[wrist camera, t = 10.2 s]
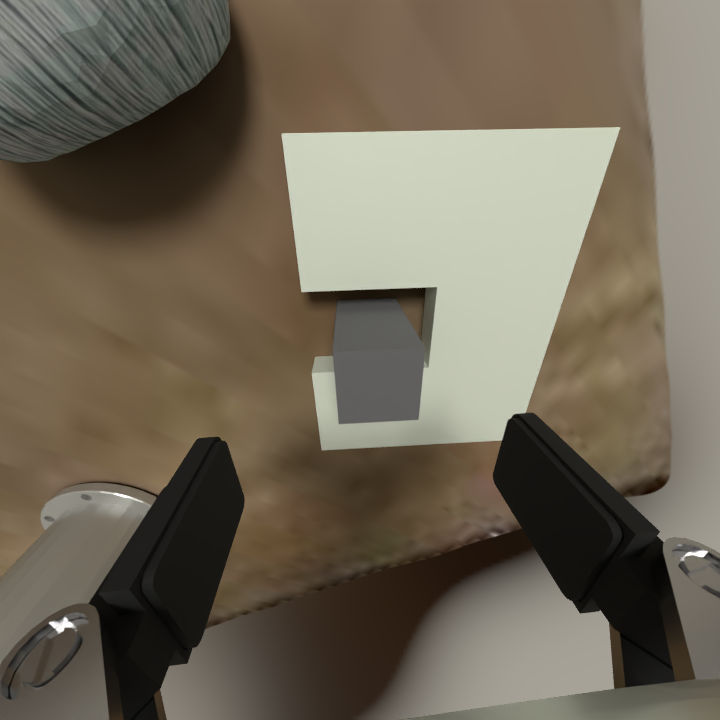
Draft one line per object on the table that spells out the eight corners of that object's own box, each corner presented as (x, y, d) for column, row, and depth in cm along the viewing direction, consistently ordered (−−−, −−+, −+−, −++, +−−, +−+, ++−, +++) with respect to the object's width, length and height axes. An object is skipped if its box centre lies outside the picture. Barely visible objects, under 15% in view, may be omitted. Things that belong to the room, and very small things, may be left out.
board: (501, 420, 24) (516, 439, 22) (323, 429, 24) (321, 450, 22) (581, 139, 15) (620, 127, 13) (290, 145, 15) (281, 133, 12)
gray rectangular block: (393, 350, 21) (418, 420, 14) (340, 352, 21) (338, 424, 14) (395, 297, 19) (425, 347, 12) (337, 300, 19) (332, 352, 12)
